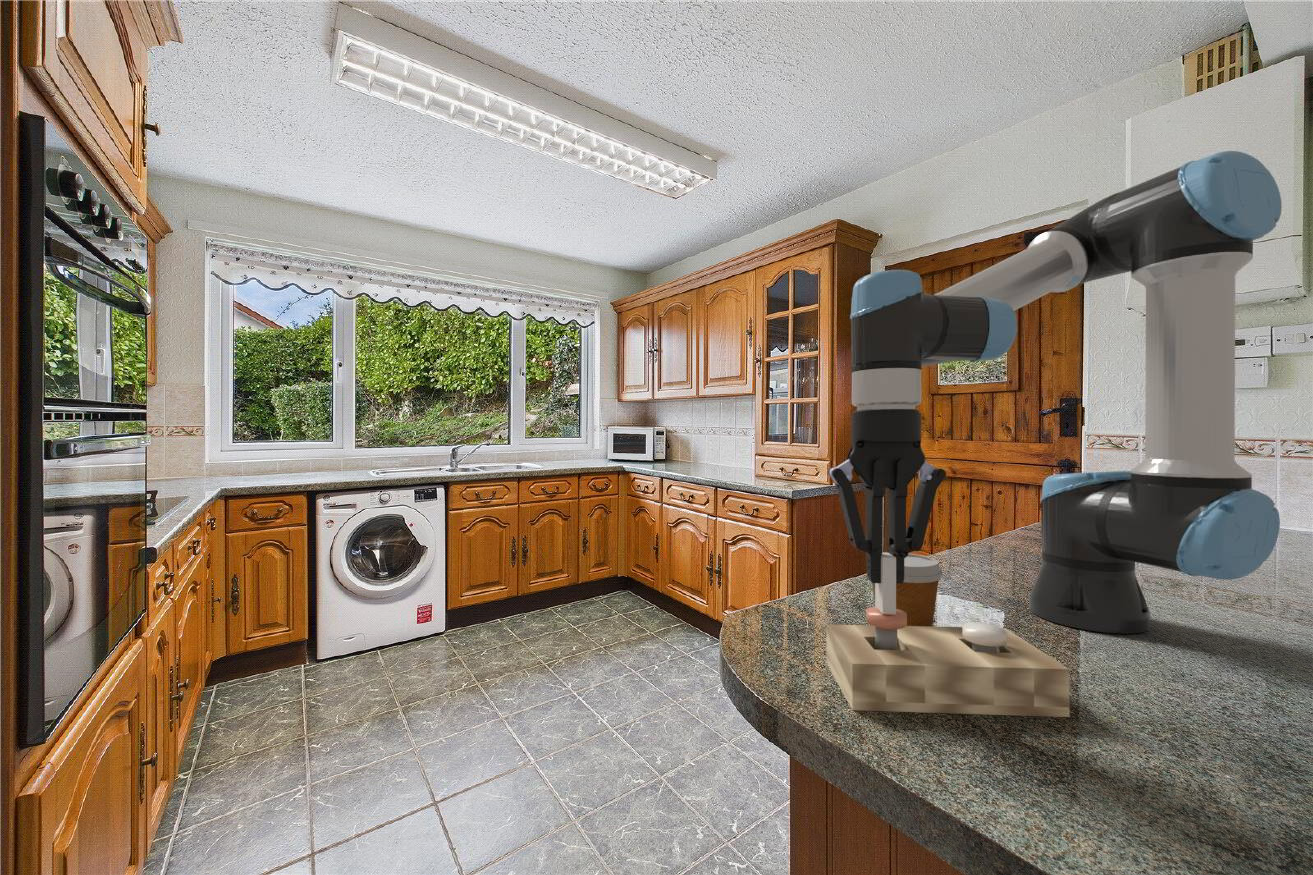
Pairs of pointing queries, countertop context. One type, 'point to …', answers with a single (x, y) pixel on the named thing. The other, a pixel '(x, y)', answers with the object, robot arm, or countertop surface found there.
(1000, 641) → the white mushroom knob
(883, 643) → the pink round-capped knob part
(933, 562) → the disposable coffee cup
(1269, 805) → the countertop surface
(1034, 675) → the block
